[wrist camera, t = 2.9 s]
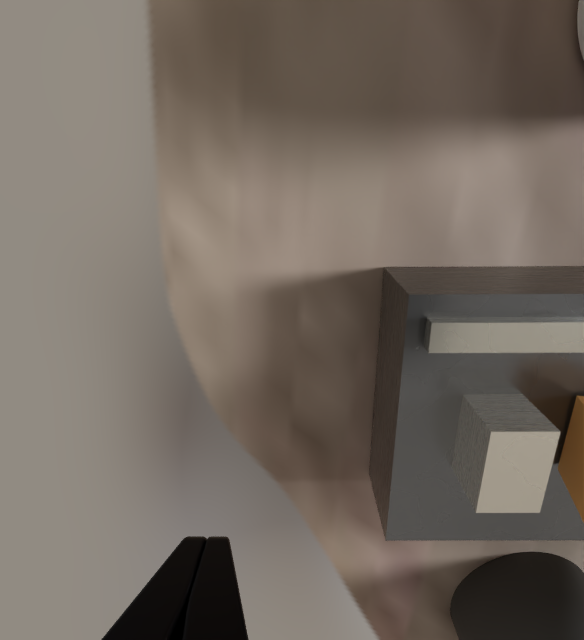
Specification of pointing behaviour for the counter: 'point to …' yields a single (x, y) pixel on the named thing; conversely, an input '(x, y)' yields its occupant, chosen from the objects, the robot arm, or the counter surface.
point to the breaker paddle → (574, 456)
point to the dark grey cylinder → (521, 600)
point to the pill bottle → (581, 25)
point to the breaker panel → (434, 399)
